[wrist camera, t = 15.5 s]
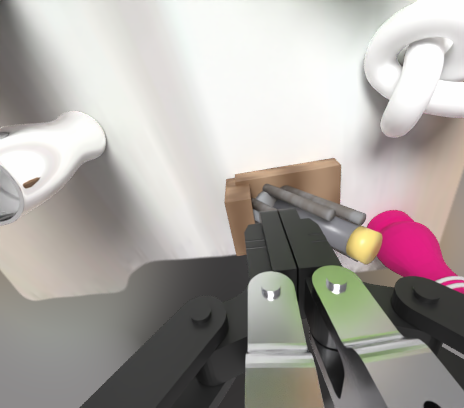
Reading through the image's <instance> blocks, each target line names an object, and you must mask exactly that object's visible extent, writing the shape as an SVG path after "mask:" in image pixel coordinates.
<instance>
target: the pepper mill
mask: <svg viewBox="0 0 464 408" xmlns="http://www.w3.org/2000/svg"><path fill="white" fill-rule="evenodd" d="M367 228H369V229H371V230H374V231H377V232H379V233H381V234H382V244H381V248H380V250H379V252H378V254H377V257H378V259H379V260H380V261H381V262H382V263H383V264H384V265H385V266H386V267H388V268H389V269H390V270H392V271H394V272H395V273H397V274H399V275H401V276H403V277H407V276H418V277H424V278H427V279H430V280H433V281H435V282H438V283H440V284H442V285H444V286H447V287H449V288H451V289H453V290H456V291H458V292H460V293H463V294H464V277H461V276H457V275H456V274H455V273H454V272H452V271H451V269H450V268H449V267H448V266H447V265H446V263H445V262H444V260H443V257H442V254H441V250H440V246H439V243H438V241H437V239H436V237H435V236H434V234H433V233H432V232H431V231H430V230H429V229H428V228H427V227H426V226H424V225H422V224H420V223H417V222H414V221H413V220H412V219H411V218H410V217H409V216H408V215H407V214H406V213H404V212H402V211H398V210H390V211H386V212H383V213H381V214H379V215H377V216H376V217H374V218H373V219H372V220H371V221H370V223H369V225H368V227H367Z"/></svg>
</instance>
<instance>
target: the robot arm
mask: <svg viewBox="0 0 464 408" xmlns="http://www.w3.org/2000/svg"><path fill="white" fill-rule="evenodd" d="M259 220H260V223H259V224H250V225H248V226H247V228H246V230H245V232H244V236H245V245H246V254H247V264H248V273H249V282H248V285H247V287H246V289H245V290H244V291H243V292H242V293H241V294H240V295H238V296H236V297H234V298H232V299H230V300H227V301H225V302H222V301H220V300H219V299H218V298H216V297H214V296H208V295H204V296H199V297H196V298H193V299H191V300H189V301H188V302H187V303H185V304H184V305H183V306H182V307H181V308H180V309H179V310H178V311H177V312H176V313H175V314H174V315H173V316H172V317H171V318H170V319H169V320H168V321H167V322H166V323H165V324H164V325H163V326H162V327H161V328H160V329H159V330H158V331H157V332H156V333H155V334H154V335H153V336H152V337H151V338H150V339H149V340H148V341H147V342H146V343H145V344H144V345H143V346H142V347H141V348H140V349H139V350H138V351H137V352H136V353H135V354H134V355H133V356H131V357H130V358H129V359H128V361H126V362H125V363H124V364H123V365H122V366H121V367H120V368H119V369H118V371H116V372H115V373H114V374H113V375H112V376H111V377H110V378H109V379H108V380H107V381H106V382H105V383H104V384H103V385H102V386H101V387H100V388H99V389H98V390H97V391H96V392H95V393H94V394H93V395H92V396H91V397H90V398H89V399H88V400H87V401H86V402H85V403H84V404H83V405H82V406H81V407H80V408H217V407H218V405H219V404H220V402H221V401H222V399H223V398H224V396H225V395H226V393H227V392H228V390H229V389H230V387H231V385H232V384H233V382H234V380H235V377H236V376H238V375H241V374H243V373H245V408H324V405H323V400H322V395H321V391H320V386H319V382H318V377H317V373H316V369H315V364H314V360H313V357H312V354H311V352H310V351H308V349H307V345H306V341H305V336H304V331H303V326H302V321H301V319H303V318H307V321H308V324H309V327H310V330H309V338H310V342H311V345H312V348H313V350H314V353H315V355H316V358H317V361H318V363H319V366H320V368H321V371H322V374H323V376H324V379H325V381H326V384H327V387H328V389H329V391H330V394H331V397H332V400H333V403H334V406H335V408H464V359H462V358H460V357H459V356H457V355H455V354H454V353H452V352H450V351H448V350H447V349H445V348H443V347H442V344H443V343H444V344H446V345H448V346H450V347H451V348H453V349H455V350H457V351H458V352H460V353H462V354H464V294H463V293H460V292H458V291H456V290H453V289H451V288H449V287H447V286H444V285H442V284H440V283H438V282H435V281H433V280H430V279H427V278H424V277H418V276H407V277H403V278H401V279H399V280H398V281H397V282H396V284H395V287H394V288H393V287H386V286H380V285H373V284H368V283H365V282H362V281H361V280H360V278H359V277H358V276H357V275H356V274H355V273H354V272H352V271H351V270H349V269H347V268H344V267H342V265H341V263H340V261H339V260H338V258H337V256H336V254H335V253H334V251H333V249H332V247H331V246H330V244H329V242H328V241H327V239H326V237H325V235H324V234H323V232H322V230H321V228H320V227H319V225H318V224H317V223H316V222H314V221H313V220H311V219H310V218H305V219H300V217H299V215H298V213H297V210H296V209H295V208H288V209H279V210H270V211H261V212H259Z"/></svg>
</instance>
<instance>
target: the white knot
mask: <svg viewBox="0 0 464 408" xmlns="http://www.w3.org/2000/svg"><path fill="white" fill-rule="evenodd" d="M408 44H409V46H408V48H407V50H406V53H405V57H404V63H403V66H401V65H400V64H399V62H398V60H397V55H398V54H399V52H400V51H401V50H402V49H403V48H404V47H405V46H407V45H408ZM364 70H365V75H366V77H367V80H368V81H369V83H370V84H371V86H372V87H373V88H374V89H375V90H376V91H378V92H379V93H380V94H381V95H382V96H384V97H385V98H387V99H388V100H390V101H389V103H388V105H387V107H386V109H385V111H384V114H383V117H382V119H381V122H380V126H381V130H382V132H383V133H384V134H385V135H386V136H388V137H394V138H397V137H400V136H403V135H405V134H406V133H408V132H409V131H410V130H411V129H412V128H413V127H414V126H415V124H416V123H417V122H418V120H419V119H420V117H421V116H422V114H423V113H426V114H430V115H436V116H443V117H450V118H464V82H462V81H463V80H464V0H419V1H417V2H414V3H412V4H410V5H408V6H406V7H404V8H403V9H402V10H400V11H399V12H397V13H396V14H394V15H393V16H391V17H390V18H389V19H388V20H387V21H386V22H385V23H384V24H382V25H381V27H380V28H379V29H378V30H377V32H376V33H375V34H374V36H373V37H372V39H371V41H370V43H369V45H368V48H367V51H366V54H365V58H364Z"/></svg>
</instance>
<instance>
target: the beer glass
mask: <svg viewBox="0 0 464 408" xmlns="http://www.w3.org/2000/svg"><path fill="white" fill-rule="evenodd" d="M105 147H106V137H105V133H104V131H103V129H102V127H101V126H100V124H99V123H98V122H97V121H96V120H95V119H94V118H92V117H91V116H89V115H87V114H85V113H83V112H79V111H68V112H65V113H63V114H61V115H60V116H59V117H57V118H56V119H55V120H53V121H51V122H44V123H29V124H17V125H10V126H4V127H0V225H6V224H10V223H12V222H14V221H16V220H17V219H18V218H20V217H21V216H23V215H25V214H26V213H28V212H30V211H31V210H33V209H35V208H36V207H38V206H40V205H41V204H43V203H44V202H45V201H47V200H48V199H50V198H51V197H52V196H54V195H55V194H56V193H57V192H58V191H60V190H61V189H62V188H63V186H64V185H65V184H66V183H67V182H68V181H69V180H70V179H71V177H72V176H73V175H74V173H75V172H76V171H77V170H78V168H79V167H80V166H81V165H82V164H83V163H85V162H87V161H90V160H93V159H96V158H98V157H99V156H100V155H101V154H102V153H103V152H104V150H105Z"/></svg>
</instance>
